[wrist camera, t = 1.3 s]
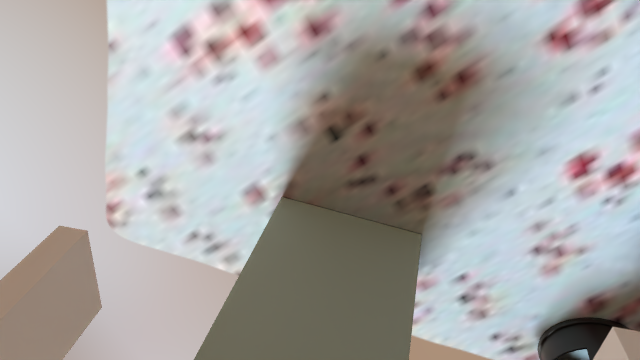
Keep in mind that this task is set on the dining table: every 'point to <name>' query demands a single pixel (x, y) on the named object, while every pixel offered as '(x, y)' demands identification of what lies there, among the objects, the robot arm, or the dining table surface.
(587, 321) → the french press
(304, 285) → the sage green block
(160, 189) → the dining table surface
